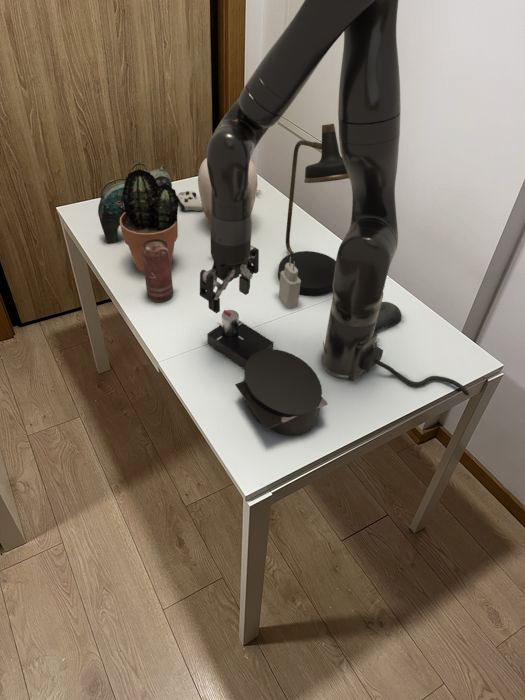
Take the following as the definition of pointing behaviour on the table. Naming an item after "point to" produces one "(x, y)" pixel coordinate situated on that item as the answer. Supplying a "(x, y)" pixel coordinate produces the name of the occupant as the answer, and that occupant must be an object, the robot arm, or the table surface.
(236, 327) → the knob
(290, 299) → the power adapter
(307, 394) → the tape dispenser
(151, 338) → the table surface
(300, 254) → the lamp
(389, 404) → the table surface
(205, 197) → the vase
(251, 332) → the panel
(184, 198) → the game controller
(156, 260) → the can
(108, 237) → the ceramic cat
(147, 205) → the potted plant
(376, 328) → the computer mouse
